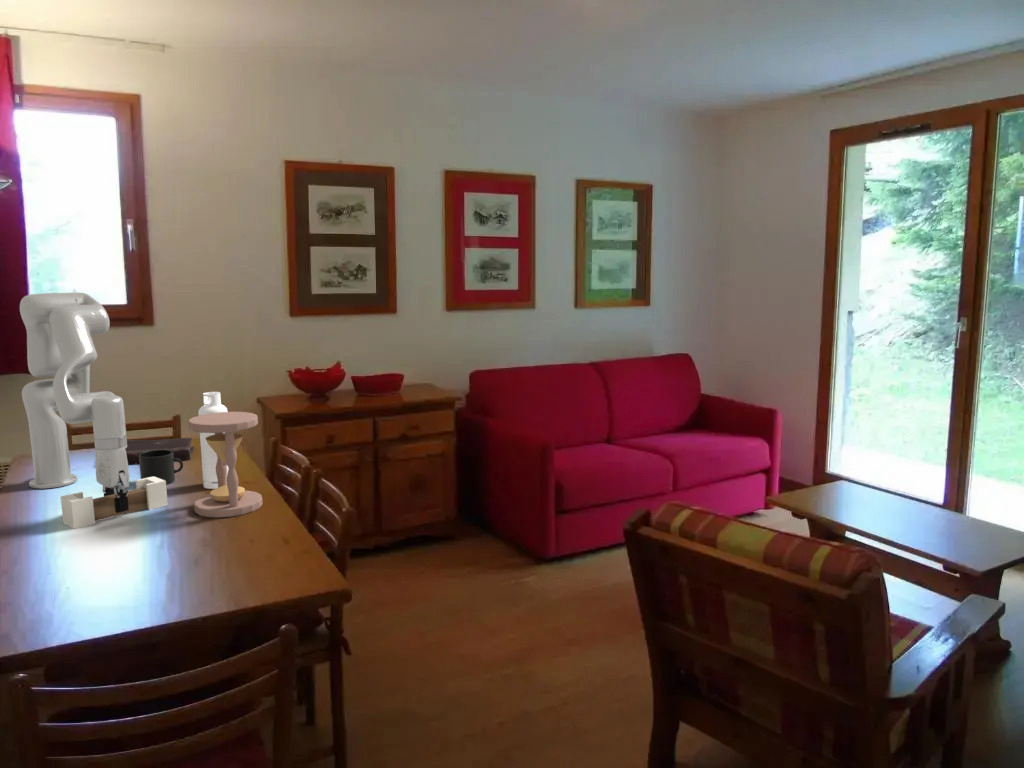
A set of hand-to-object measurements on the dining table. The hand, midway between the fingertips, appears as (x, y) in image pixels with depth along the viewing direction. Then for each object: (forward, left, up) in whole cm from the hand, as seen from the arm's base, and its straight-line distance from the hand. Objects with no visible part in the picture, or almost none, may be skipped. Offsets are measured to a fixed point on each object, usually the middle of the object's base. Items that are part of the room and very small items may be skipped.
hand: (116, 508), depth 205 cm
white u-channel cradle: (0, 0, -2) cm, 2 cm away
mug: (-20, +22, -2) cm, 30 cm away
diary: (-52, +34, -2) cm, 62 cm away
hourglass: (+18, +22, -2) cm, 28 cm away
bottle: (-4, +31, -2) cm, 31 cm away
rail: (0, 0, -2) cm, 2 cm away
